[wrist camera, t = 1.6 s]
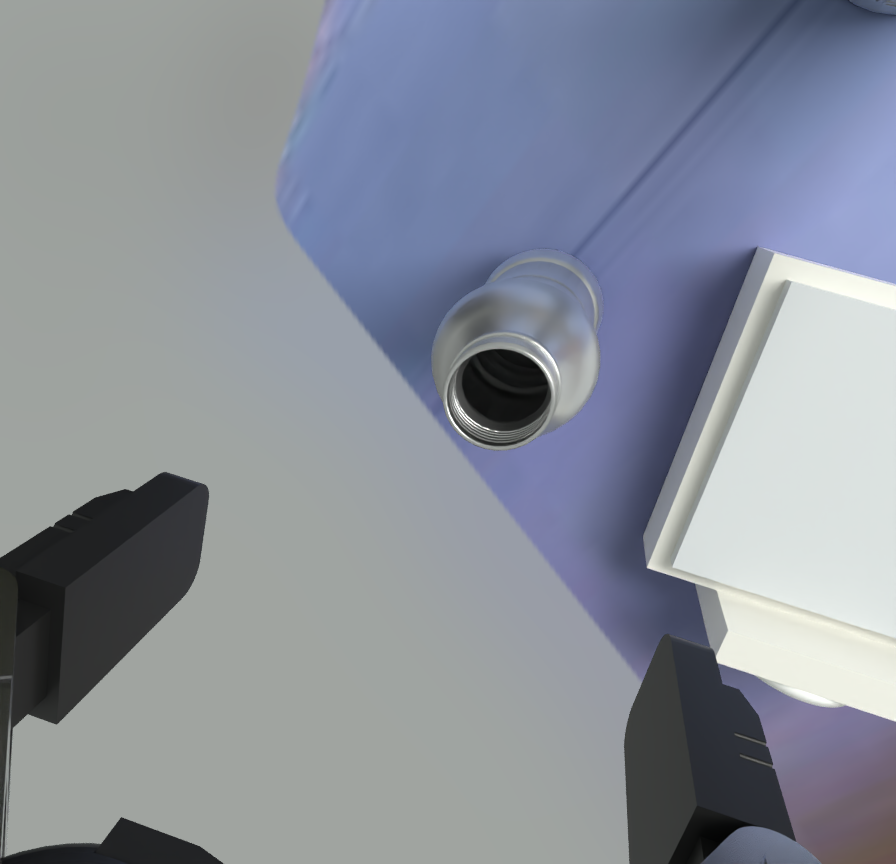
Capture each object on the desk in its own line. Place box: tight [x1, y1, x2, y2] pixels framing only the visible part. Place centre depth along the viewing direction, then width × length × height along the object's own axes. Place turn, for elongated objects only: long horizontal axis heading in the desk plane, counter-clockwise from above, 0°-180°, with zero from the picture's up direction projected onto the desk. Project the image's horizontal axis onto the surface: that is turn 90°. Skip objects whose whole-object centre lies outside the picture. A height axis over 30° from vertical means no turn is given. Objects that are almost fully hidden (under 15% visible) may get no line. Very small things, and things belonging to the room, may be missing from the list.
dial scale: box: [643, 247, 896, 721], centre depth 38 cm, size 21×18×8 cm
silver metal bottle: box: [431, 249, 603, 450], centre depth 33 cm, size 6×7×20 cm
